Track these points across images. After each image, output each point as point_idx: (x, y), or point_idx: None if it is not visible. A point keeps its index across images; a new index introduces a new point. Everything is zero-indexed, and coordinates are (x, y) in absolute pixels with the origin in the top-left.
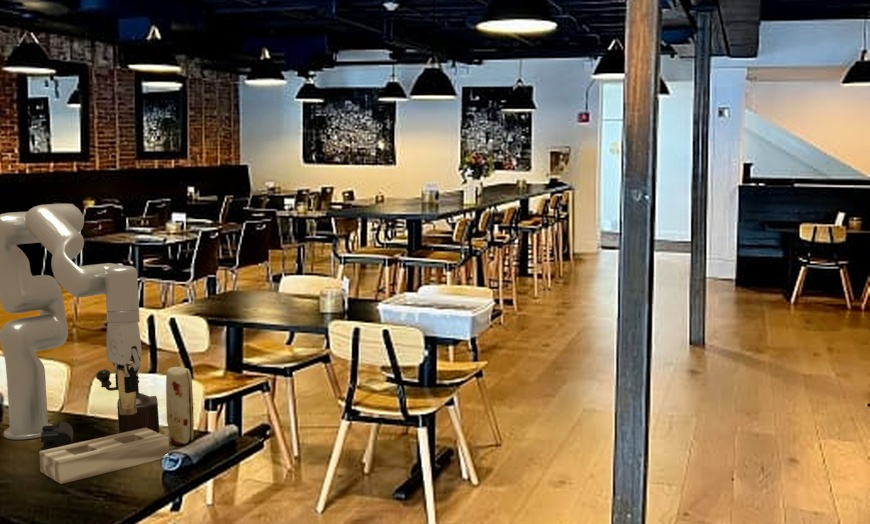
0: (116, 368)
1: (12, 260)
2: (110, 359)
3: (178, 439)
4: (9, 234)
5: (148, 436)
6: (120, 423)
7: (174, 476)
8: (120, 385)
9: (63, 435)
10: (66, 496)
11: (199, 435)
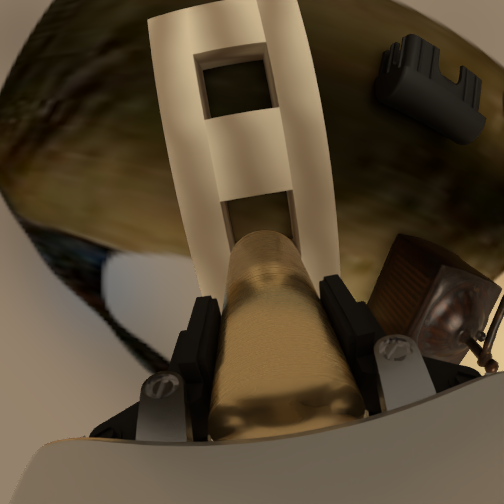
0: (383, 376)
1: None
2: (440, 421)
3: None
4: None
5: None
6: (419, 253)
7: (86, 261)
8: (250, 301)
9: (396, 79)
10: (86, 50)
11: None
